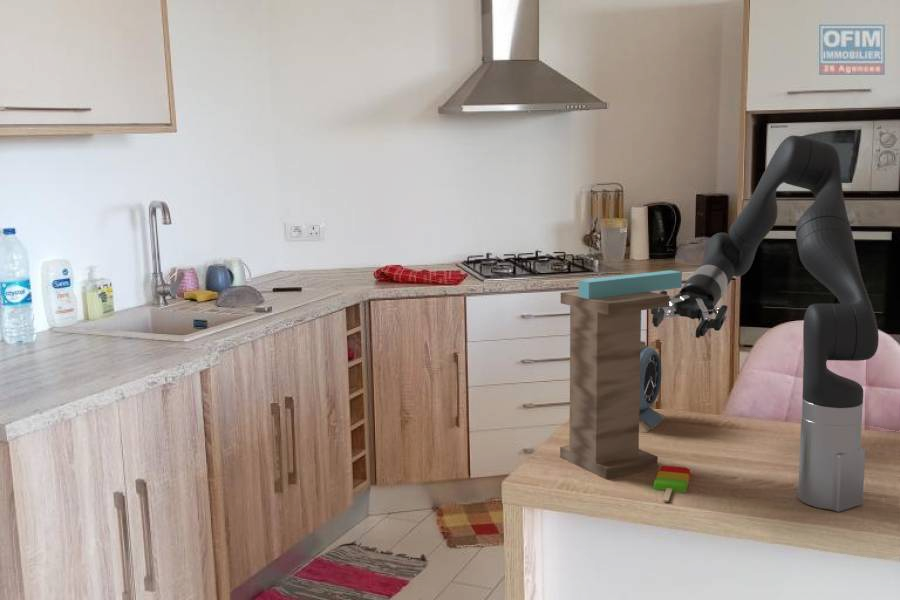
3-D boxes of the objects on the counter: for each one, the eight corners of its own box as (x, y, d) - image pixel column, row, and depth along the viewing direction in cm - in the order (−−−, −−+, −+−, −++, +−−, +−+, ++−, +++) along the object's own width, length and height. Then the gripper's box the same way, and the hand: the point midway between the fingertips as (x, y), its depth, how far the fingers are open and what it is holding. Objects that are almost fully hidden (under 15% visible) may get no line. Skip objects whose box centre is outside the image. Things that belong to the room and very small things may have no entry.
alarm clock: (645, 434, 192) (646, 350, 189) (600, 427, 197) (601, 345, 194) (667, 416, 204) (669, 337, 201) (625, 410, 209) (626, 333, 206)
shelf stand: (665, 464, 174) (669, 295, 169) (606, 479, 167) (608, 303, 162) (617, 444, 186) (619, 285, 181) (560, 456, 179) (560, 292, 174)
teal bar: (681, 287, 177) (681, 272, 177) (588, 298, 167) (588, 282, 166) (670, 285, 180) (670, 270, 179) (578, 296, 169) (578, 280, 169)
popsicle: (691, 476, 169) (691, 467, 169) (682, 507, 155) (682, 497, 155) (660, 473, 171) (660, 464, 171) (648, 504, 157) (648, 493, 157)
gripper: (672, 266, 195) (642, 303, 183) (740, 281, 188) (713, 321, 176) (669, 297, 199) (640, 335, 187) (736, 312, 192) (710, 353, 180)
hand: (676, 328), depth 182 cm, fingers open, 8 cm apart
